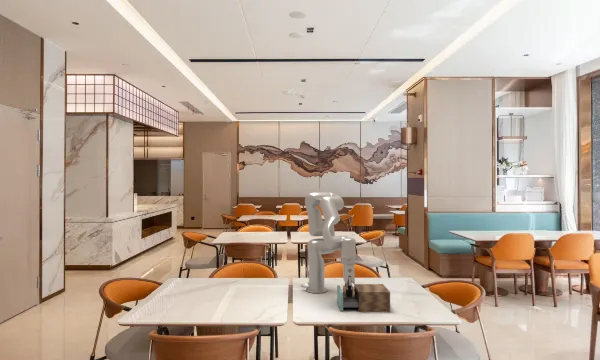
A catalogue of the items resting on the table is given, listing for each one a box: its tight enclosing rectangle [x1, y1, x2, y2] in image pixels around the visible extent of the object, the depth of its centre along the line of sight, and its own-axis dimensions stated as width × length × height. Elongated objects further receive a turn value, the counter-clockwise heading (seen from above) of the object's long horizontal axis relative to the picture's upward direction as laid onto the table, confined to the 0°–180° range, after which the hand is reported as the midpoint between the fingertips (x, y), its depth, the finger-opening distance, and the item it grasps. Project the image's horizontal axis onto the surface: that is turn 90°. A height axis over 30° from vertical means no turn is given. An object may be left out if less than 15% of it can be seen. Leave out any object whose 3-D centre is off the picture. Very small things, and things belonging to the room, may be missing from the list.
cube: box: [342, 285, 354, 298], centre depth 215 cm, size 5×5×5 cm
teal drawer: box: [336, 284, 359, 312], centre depth 215 cm, size 16×16×9 cm
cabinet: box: [353, 283, 391, 313], centre depth 216 cm, size 16×16×10 cm
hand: (348, 295), depth 215 cm, fingers closed on cube, 4 cm apart
